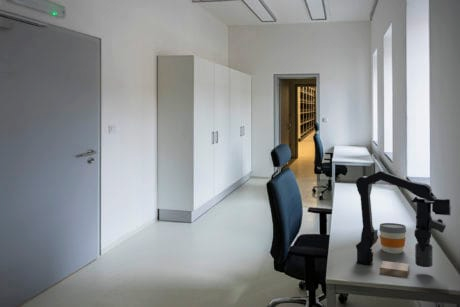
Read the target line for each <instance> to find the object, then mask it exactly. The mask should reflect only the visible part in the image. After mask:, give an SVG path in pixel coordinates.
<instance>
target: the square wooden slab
mask: <svg viewBox="0 0 460 307" xmlns="http://www.w3.org/2000/svg"><path fill="white" fill-rule="evenodd" d="M409 272H410V263H403V262H395V261H394V262H393V261H387V260H382V262H381V264H380V266H379V274H382V275H383V274H384V275H390V276H397V277H407V278H408V277H409Z"/></svg>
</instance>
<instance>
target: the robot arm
mask: <svg viewBox="0 0 460 307" xmlns="http://www.w3.org/2000/svg"><path fill="white" fill-rule="evenodd" d="M380 181H383V182H385V183H388V184H391V185H393V186H396V187H400V188H401V189H404V190H406V191H409V192H410V193H411V194H413V195H414V196H415V197H414V198H413V199H412V200H411V201H410V202H411V203H413V204H414V203H416V204H415V206H416V207H415V209H416V210H415V212H416V213H415V214H416V215H415V230H414V233H413V234H414V237H415V239H416V241H417V243H418V244H419V246H420V249H421V251H422V252H424V251H425V246H426V242H427V240H428V239H429V238H430V239H431V237H432V229H434V230H436V231H438V232H439V233H442V234H443V233H444V231H445V229H446V226H447V224H446V223H444V222H443V219H440V218H438V219H433V218H432V217H433V216H432V212H433V213H434V214H435V215H437V216H451V214H452V206H451V199H450V198H437V197H436V195H435V194H434V193H433V191H432V190H433V189H432V186H431V185H430V184H427V183H425V182H424V183H423V182H417V181H412V180H408V179H405V178H402V177H400V176H398V175H395V174H392V173H390V172H389V173H388V172H387V171H385V170H379V171H377V172H376V173H373V174H371V175H367V176H366V175H364V176H360V177H359V178H357V179H356V182H355V186H356V189H357V192H358V195H359V197H360V207H361V217H362V230H361V234H360V235H361V236H360V241H359V242H358V243H357V244H356V245H355V249H356V261H355V262H356V263H357V264H364V265H372V263H373V262H374V252H373V249H372V248H373V246H374V245H375V244H376V243H377V242H378V239H379V236H378V229H375V228H374V225H373V213H372V212H373V211H372V202H371V194H372V190H373V184H375V183H378V182H380Z"/></svg>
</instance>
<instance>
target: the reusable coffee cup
mask: <svg viewBox="0 0 460 307" xmlns="http://www.w3.org/2000/svg"><path fill="white" fill-rule="evenodd" d="M378 229H379V233H380V234H379V239H380V245H381V247H382V248H381V249H382V251H384V252H385V253H387V254H393V255H394V254H396V255H397V254H401V253H403V252H404V247H405V244H406V233H407V226H406V225H405V224H401V223H395V222H385V223H384V222H383V223H380V224H379V228H378Z"/></svg>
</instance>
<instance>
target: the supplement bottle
mask: <svg viewBox="0 0 460 307" xmlns="http://www.w3.org/2000/svg"><path fill="white" fill-rule="evenodd" d="M414 248H415V249H414V254H415V255H414V256H415V258H414V259H415V260H414V261H415V262H414V264H415V265H416V266H417V267H422V268H432V267H433V266H434V263H433V262H434V259H433V258H434V253H433V252H434V249H433V248H434V246H433V245H432V244H431V238H429V239H428V240H427V242H426V246H425V251H424V252H422V251H421V249H420V246H419V244H418V242H417V243H415V246H414Z"/></svg>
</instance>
